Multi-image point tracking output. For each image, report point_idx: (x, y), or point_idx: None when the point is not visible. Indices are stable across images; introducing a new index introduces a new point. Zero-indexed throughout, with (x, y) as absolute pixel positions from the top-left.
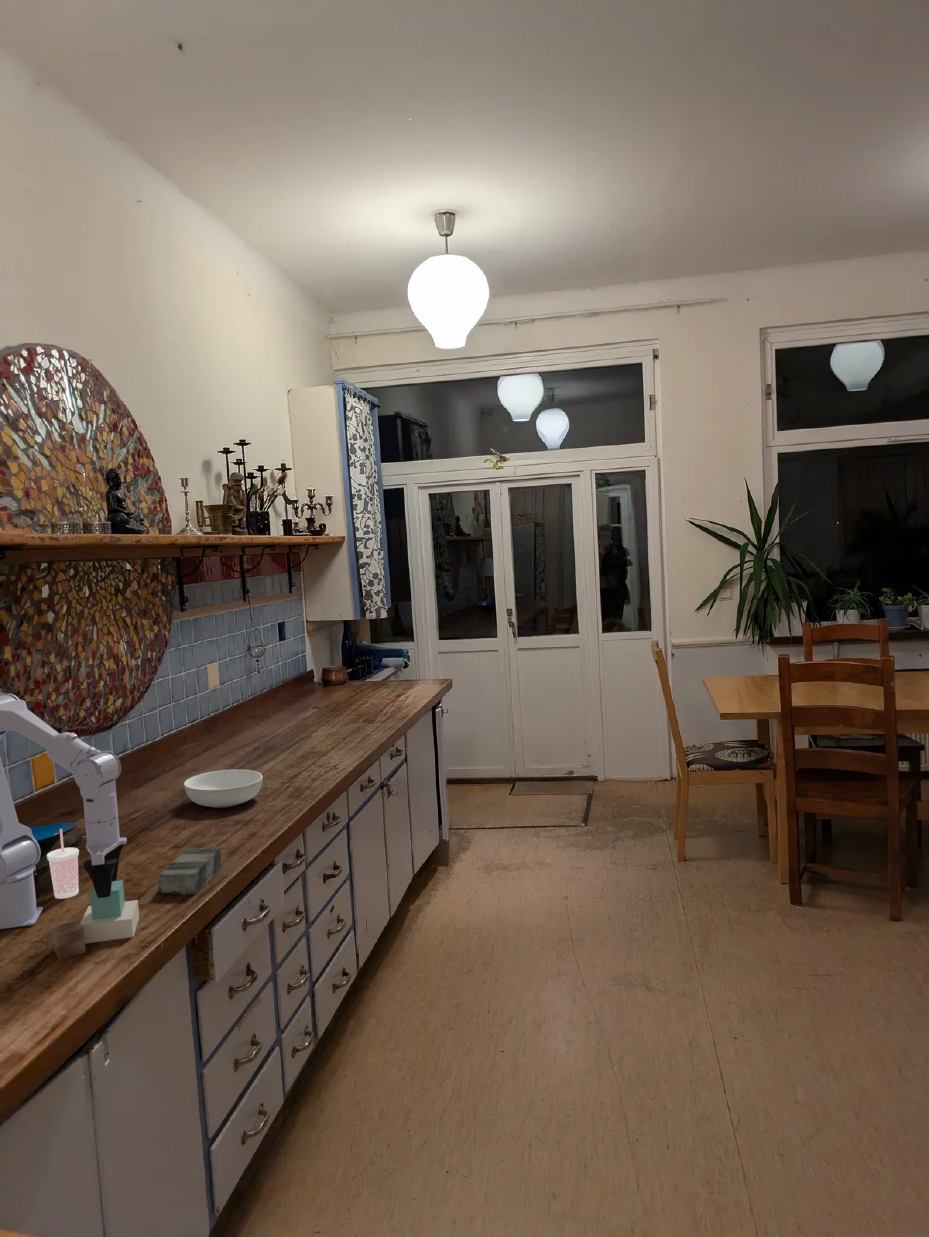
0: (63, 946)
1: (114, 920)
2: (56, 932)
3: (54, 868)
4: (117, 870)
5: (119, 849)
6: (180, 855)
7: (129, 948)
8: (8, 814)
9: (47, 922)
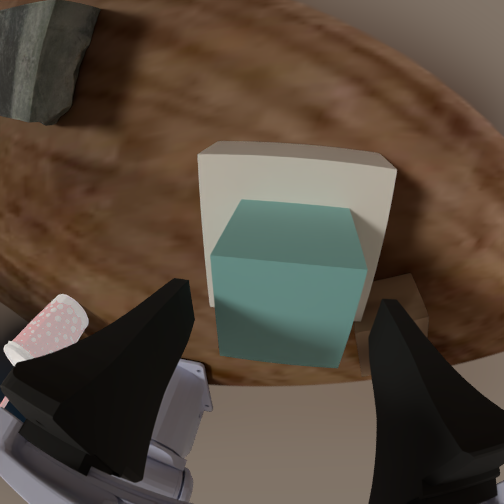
0: None
1: (380, 229)
2: None
3: None
4: (161, 305)
5: (88, 398)
6: None
7: (449, 167)
8: None
9: (192, 344)
